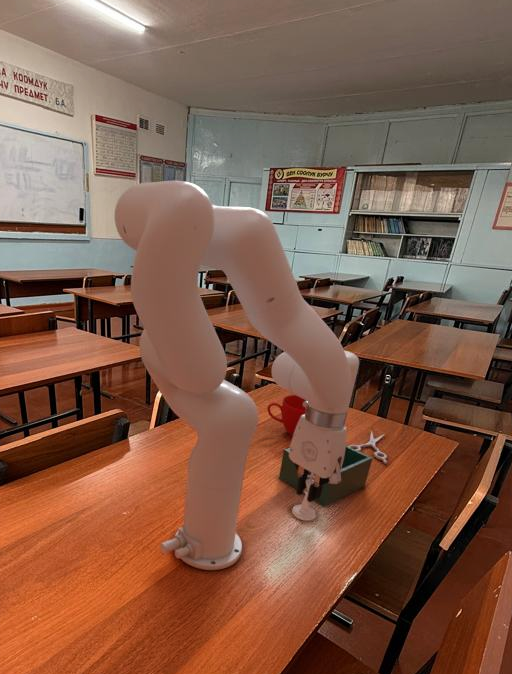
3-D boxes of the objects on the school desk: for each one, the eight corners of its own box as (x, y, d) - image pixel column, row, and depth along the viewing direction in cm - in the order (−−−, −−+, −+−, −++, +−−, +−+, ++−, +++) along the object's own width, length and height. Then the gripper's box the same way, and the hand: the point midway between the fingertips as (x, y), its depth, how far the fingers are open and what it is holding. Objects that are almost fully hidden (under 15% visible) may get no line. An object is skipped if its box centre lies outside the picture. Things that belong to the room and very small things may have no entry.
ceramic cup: (264, 421, 135) (268, 391, 131) (319, 428, 134) (325, 397, 130) (264, 439, 124) (269, 406, 120) (324, 447, 122) (331, 414, 118)
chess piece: (316, 522, 90) (325, 481, 86) (291, 518, 91) (300, 477, 86) (315, 509, 94) (324, 469, 90) (292, 505, 95) (300, 465, 91)
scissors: (346, 450, 120) (360, 425, 136) (345, 452, 120) (360, 428, 136) (386, 462, 115) (397, 435, 131) (386, 464, 115) (396, 437, 131)
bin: (324, 506, 96) (332, 476, 92) (278, 478, 105) (283, 449, 102) (364, 486, 105) (372, 458, 101) (319, 461, 114) (325, 435, 111)
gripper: (280, 404, 86) (267, 483, 94) (349, 436, 75) (328, 522, 83) (305, 398, 91) (290, 474, 98) (373, 427, 79) (350, 510, 87)
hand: (307, 495), depth 91 cm, fingers closed on chess piece
